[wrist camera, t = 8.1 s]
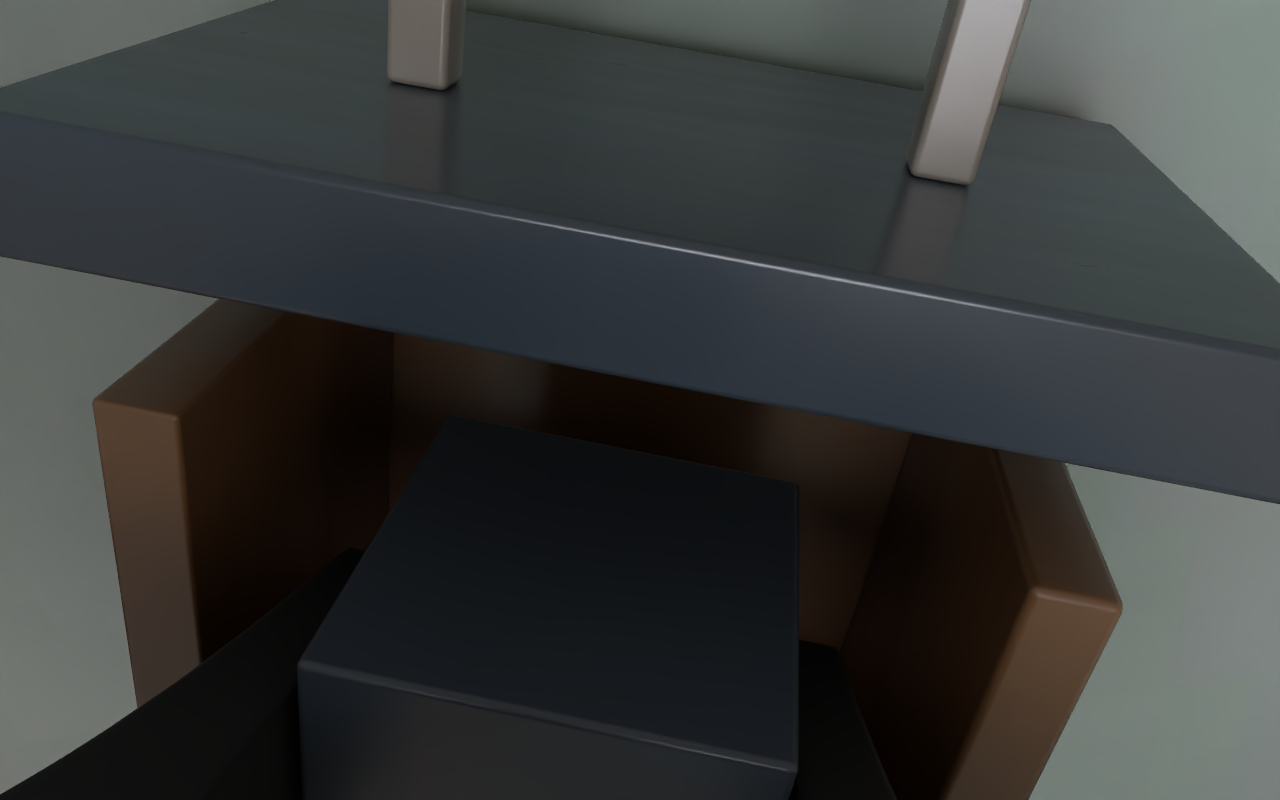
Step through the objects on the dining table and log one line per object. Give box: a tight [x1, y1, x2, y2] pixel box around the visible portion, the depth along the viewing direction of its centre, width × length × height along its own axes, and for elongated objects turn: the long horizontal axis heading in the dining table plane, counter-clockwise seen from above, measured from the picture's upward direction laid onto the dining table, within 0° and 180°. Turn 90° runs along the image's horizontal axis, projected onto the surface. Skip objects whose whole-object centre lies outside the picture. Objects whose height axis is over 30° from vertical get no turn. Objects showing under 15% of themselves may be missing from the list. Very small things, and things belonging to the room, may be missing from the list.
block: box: [297, 415, 800, 800], centre depth 11 cm, size 4×4×4 cm
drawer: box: [0, 0, 1280, 800], centre depth 12 cm, size 17×10×7 cm, turn 172°
